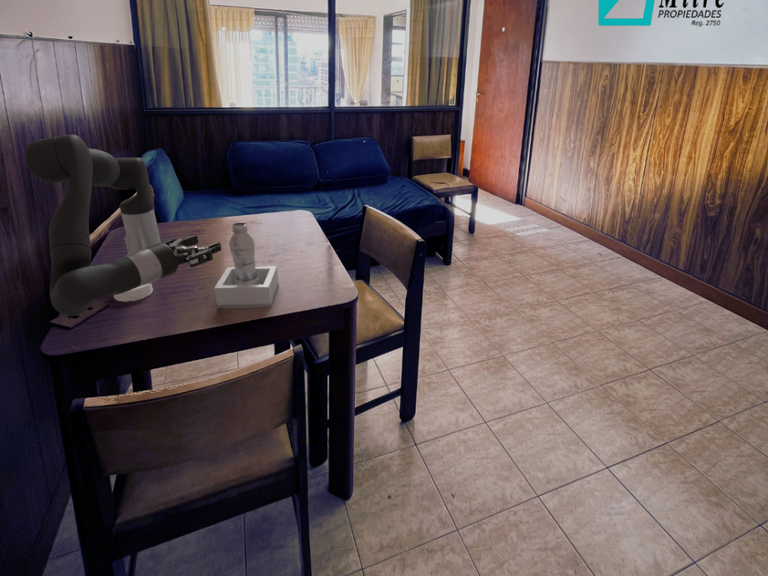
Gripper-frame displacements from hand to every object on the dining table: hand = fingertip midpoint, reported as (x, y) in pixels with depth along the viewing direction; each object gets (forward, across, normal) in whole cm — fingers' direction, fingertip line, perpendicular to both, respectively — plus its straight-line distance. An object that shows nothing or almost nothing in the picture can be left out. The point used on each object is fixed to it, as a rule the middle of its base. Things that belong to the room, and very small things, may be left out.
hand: (208, 242), depth 120 cm
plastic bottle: (+9, -2, +18) cm, 20 cm away
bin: (+9, -2, +19) cm, 21 cm away
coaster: (-7, +27, +19) cm, 34 cm away
